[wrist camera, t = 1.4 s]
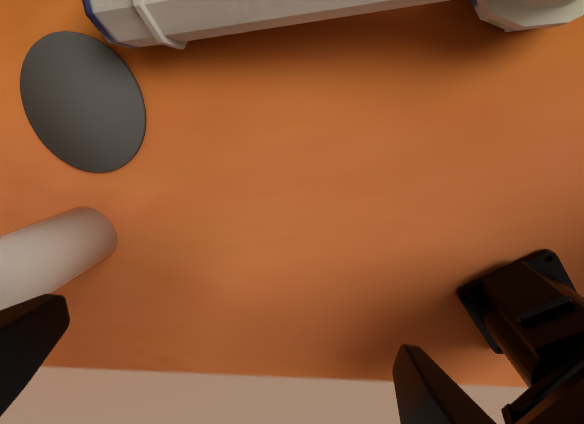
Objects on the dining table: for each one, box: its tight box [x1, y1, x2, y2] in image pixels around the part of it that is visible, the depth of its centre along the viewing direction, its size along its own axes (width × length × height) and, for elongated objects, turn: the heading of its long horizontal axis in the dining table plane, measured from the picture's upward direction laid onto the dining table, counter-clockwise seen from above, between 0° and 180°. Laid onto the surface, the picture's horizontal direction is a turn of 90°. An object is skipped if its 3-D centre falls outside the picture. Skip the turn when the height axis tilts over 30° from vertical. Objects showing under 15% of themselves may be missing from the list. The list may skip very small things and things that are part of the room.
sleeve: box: [0, 207, 117, 310], centre depth 17 cm, size 5×5×12 cm
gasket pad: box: [20, 31, 146, 172], centre depth 19 cm, size 9×9×1 cm
